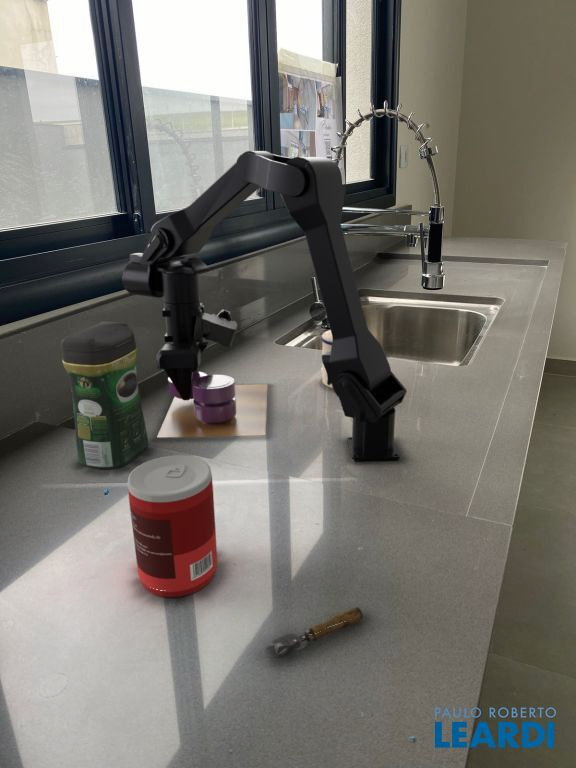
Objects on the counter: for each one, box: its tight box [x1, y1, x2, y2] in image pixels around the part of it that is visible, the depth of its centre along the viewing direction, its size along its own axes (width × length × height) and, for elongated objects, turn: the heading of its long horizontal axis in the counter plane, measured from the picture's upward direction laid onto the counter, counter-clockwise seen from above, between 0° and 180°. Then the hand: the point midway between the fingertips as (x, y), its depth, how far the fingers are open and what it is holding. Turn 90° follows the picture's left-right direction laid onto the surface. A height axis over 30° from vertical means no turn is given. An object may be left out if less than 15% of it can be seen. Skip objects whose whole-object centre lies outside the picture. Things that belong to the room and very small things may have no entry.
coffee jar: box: [60, 321, 149, 470], centre depth 81 cm, size 10×8×19 cm
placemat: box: [156, 383, 269, 439], centre depth 99 cm, size 22×16×1 cm
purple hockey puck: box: [167, 370, 208, 399], centre depth 101 cm, size 7×7×3 cm
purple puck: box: [192, 374, 236, 405], centre depth 94 cm, size 7×7×3 cm
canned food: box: [127, 454, 218, 598], centre depth 58 cm, size 8×8×11 cm
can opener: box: [265, 607, 364, 657], centre depth 51 cm, size 9×2×1 cm, turn 113°
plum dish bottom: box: [193, 397, 236, 424], centre depth 95 cm, size 7×7×3 cm
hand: (189, 392), depth 101 cm, fingers closed on purple hockey puck, 6 cm apart
